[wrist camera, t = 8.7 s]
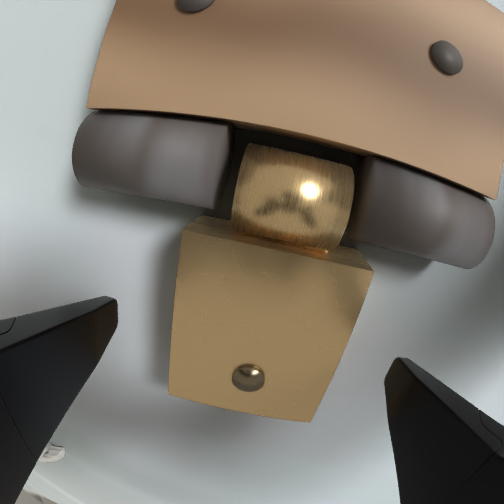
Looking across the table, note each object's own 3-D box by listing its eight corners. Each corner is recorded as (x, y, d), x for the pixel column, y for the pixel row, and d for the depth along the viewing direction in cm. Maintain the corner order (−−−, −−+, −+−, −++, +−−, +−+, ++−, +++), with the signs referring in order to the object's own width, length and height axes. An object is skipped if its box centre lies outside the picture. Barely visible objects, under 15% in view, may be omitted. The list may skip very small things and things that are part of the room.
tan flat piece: (168, -43, 8) (146, -75, 5) (477, 29, 8) (510, 11, 5) (109, 182, 11) (68, 192, 8) (443, 255, 11) (479, 280, 8)
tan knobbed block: (306, 386, 13) (310, 429, 11) (183, 360, 14) (165, 400, 11) (376, 175, 10) (405, 181, 8) (215, 138, 10) (194, 132, 8)
